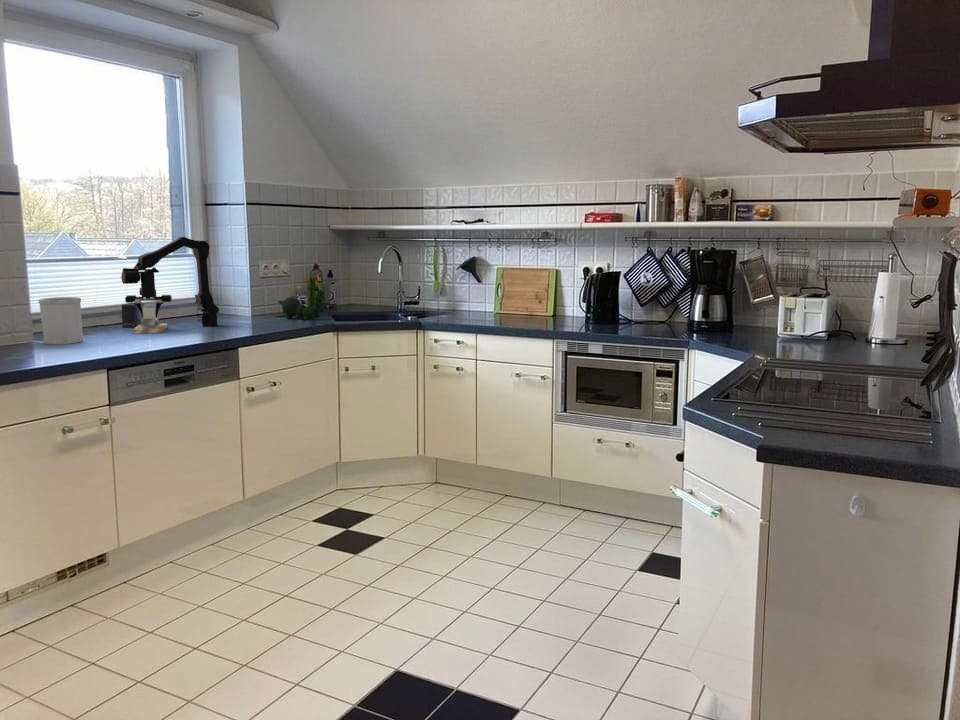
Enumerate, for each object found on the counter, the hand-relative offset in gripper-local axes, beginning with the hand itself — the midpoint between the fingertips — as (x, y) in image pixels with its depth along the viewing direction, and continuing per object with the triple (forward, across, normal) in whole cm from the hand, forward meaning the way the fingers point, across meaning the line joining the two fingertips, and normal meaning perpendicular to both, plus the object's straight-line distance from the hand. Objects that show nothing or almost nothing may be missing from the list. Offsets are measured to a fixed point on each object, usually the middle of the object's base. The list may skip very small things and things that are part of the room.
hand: (150, 317), depth 344 cm
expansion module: (+1, 0, 0) cm, 1 cm away
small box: (+6, +9, -17) cm, 20 cm away
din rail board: (+6, 0, 0) cm, 6 cm away
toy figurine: (+6, -68, -29) cm, 74 cm away
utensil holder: (+6, +29, +31) cm, 43 cm away
